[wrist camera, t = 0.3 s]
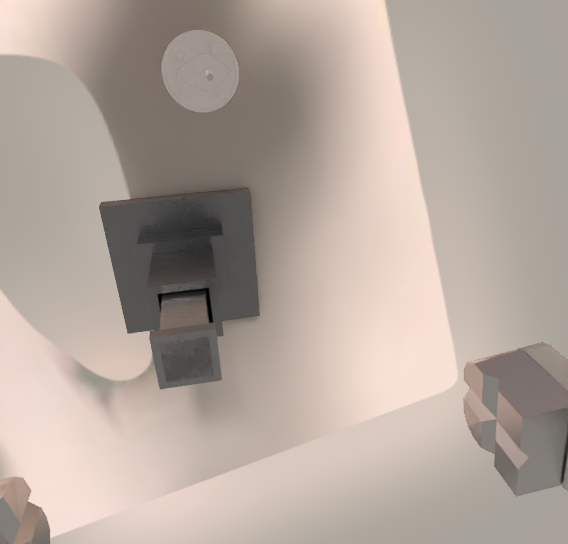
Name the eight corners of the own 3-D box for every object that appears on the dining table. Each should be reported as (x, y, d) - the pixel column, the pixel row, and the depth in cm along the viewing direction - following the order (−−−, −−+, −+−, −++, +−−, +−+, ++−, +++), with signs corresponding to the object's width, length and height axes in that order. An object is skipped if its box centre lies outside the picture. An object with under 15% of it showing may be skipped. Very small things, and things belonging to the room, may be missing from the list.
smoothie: (233, 96, 51) (249, 117, 38) (171, 102, 50) (166, 126, 37) (226, 26, 48) (241, 26, 35) (159, 32, 47) (150, 33, 34)
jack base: (101, 202, 53) (80, 246, 42) (248, 187, 55) (263, 226, 44) (129, 326, 60) (117, 391, 49) (258, 309, 62) (273, 368, 52)
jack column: (159, 248, 55) (149, 337, 39) (206, 242, 55) (215, 328, 40) (166, 288, 57) (159, 389, 41) (211, 283, 58) (221, 379, 42)
